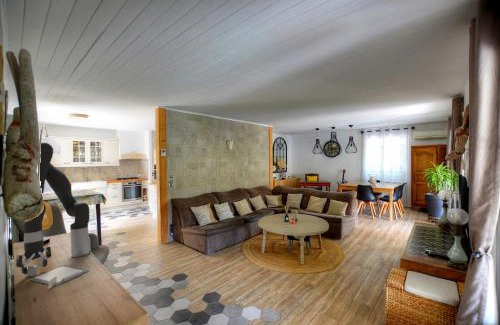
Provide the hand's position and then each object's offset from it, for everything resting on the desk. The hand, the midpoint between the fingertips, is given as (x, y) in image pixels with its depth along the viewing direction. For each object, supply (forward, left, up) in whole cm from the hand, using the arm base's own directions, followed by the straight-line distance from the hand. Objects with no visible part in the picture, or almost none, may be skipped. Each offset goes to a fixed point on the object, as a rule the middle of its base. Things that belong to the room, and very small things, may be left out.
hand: (35, 270), depth 125 cm
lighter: (0, 0, -3) cm, 3 cm away
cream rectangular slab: (+5, +23, -2) cm, 24 cm away
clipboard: (-3, +15, -2) cm, 16 cm away
